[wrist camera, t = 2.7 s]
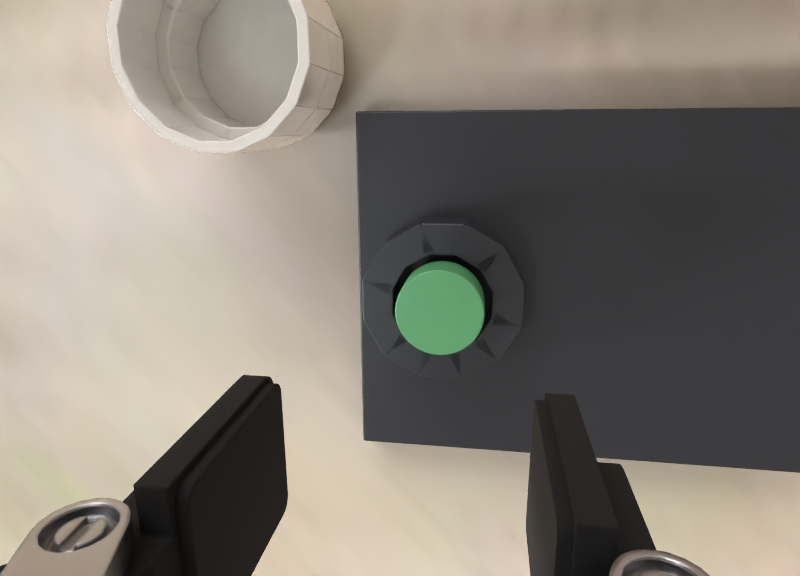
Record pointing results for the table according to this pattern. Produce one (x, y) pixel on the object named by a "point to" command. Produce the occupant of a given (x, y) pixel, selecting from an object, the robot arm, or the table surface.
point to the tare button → (440, 308)
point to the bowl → (227, 69)
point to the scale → (590, 278)
